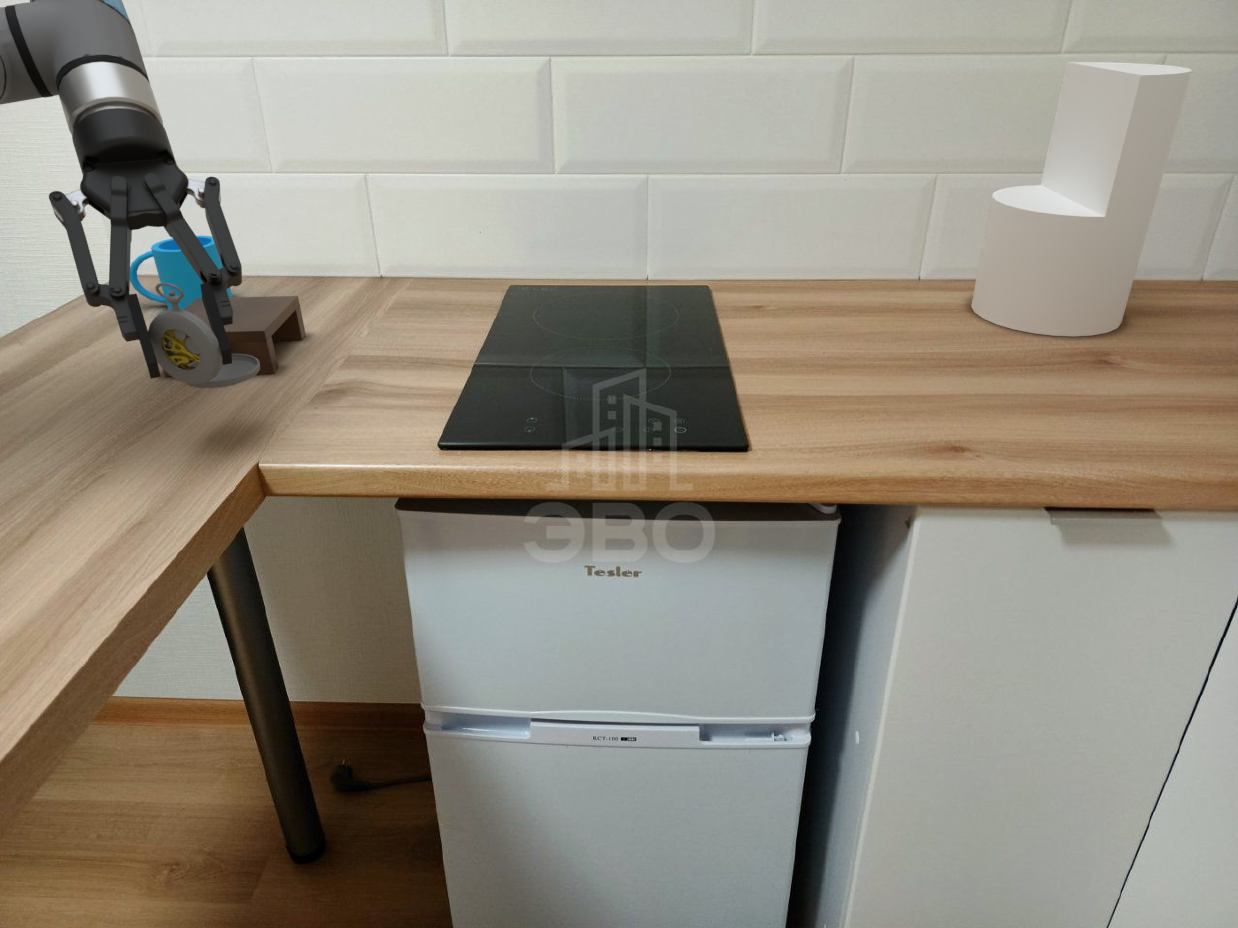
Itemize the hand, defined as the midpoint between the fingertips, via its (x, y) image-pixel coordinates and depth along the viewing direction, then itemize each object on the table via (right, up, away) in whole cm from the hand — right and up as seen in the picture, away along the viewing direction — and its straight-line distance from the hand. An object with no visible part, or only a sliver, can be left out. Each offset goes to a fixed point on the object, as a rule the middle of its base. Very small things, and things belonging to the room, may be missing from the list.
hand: (191, 363), depth 72 cm
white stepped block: (+90, +10, +36) cm, 97 cm away
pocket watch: (-1, -1, +5) cm, 5 cm away
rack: (-8, +4, +27) cm, 29 cm away
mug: (-23, +13, +44) cm, 51 cm away
